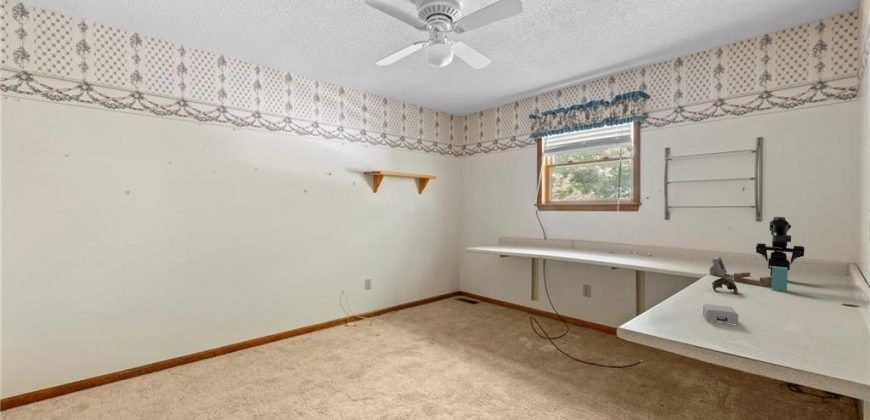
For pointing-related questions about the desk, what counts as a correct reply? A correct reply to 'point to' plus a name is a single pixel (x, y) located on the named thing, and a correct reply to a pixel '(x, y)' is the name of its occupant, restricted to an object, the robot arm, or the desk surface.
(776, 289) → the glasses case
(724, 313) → the charger
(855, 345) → the desk surface
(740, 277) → the display stand
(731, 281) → the brown curved arch
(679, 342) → the desk surface
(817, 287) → the desk surface
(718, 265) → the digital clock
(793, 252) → the robot arm
